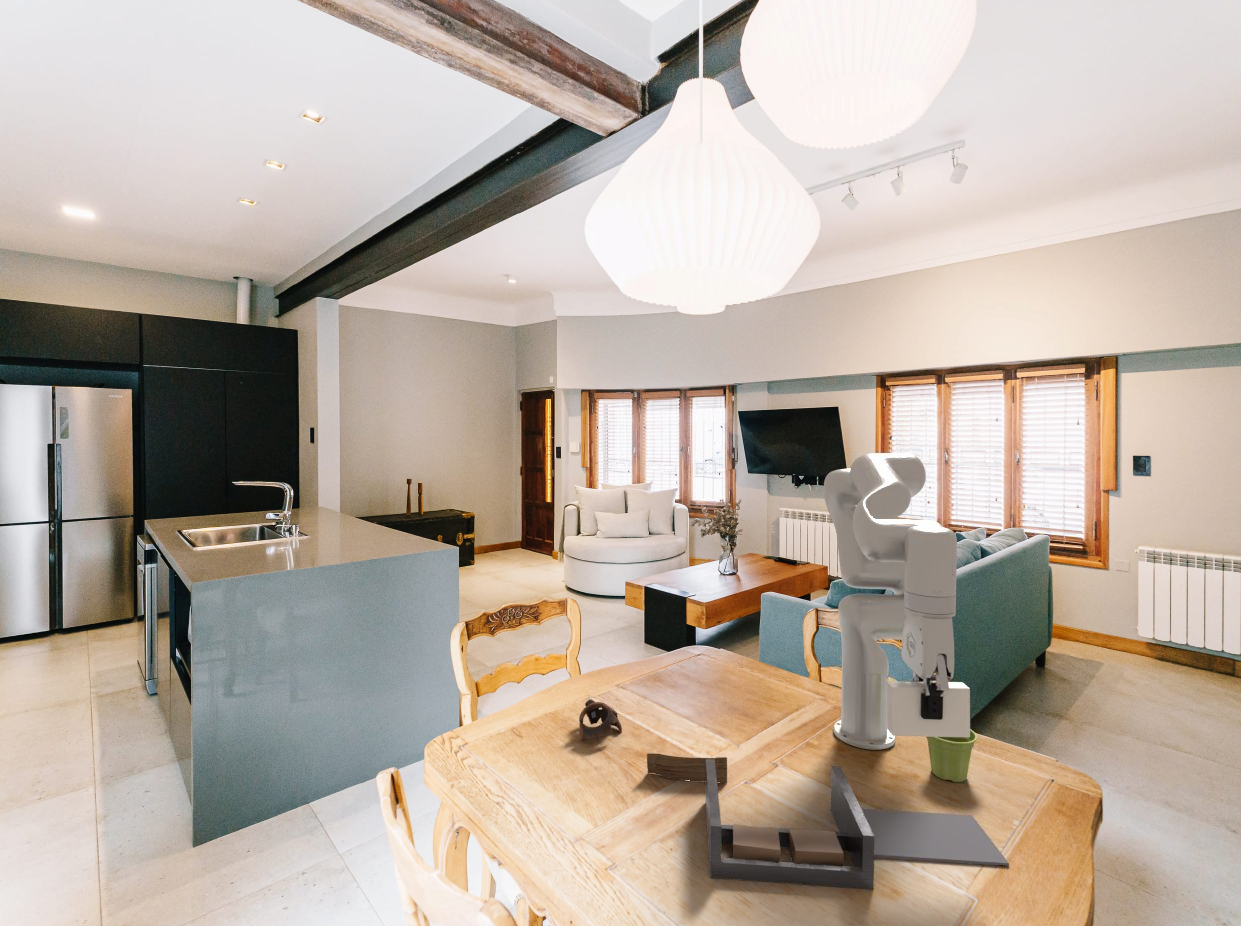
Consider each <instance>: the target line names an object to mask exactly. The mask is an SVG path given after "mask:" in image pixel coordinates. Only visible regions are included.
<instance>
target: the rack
mask: <svg viewBox="0 0 1241 926" xmlns="http://www.w3.org/2000/svg"><path fill="white" fill-rule="evenodd" d="M718 789H719V788H718V783H717V777H716V768H715V759H706V782H705V813H706V817H705V818H706V827H707V829H706V830H707V831H706V832H707V844H708V858H709V861H708V862H709V876H710V877H709V878H711V879H721V880H722V879H723V880H736V881H749V882H750V881H751V882H762V883H763V882H765V883H776V884H778V883H779V884H789V885H790V884H794V885H806V886H807V885H808V886H819V887H820V886H822V887H833V888H848V889H861V890H862V889H865V890H875V889H874V888H875V887H874V884H875V883H874V882H875V881H874V879H875V877H874V876H875V875H874V874H875V858H874V834H873V832H872V830H871V828H870V826H869V824H868V822H867V820H866V818H865V816H864V814H863V812H862V809H863V808H861V806H860V804H859V801H858V798H857V797H856V795H855V793H854V791H853V789H852V787H851V785H850V782H849V781H848V778H847V776H846V775H845V773H844V770H843V768H842V766H841V765H830V812H831V814H832V816H833V819H834V822H835V824H836V827H837V829H838V831H834V832H835V834H836V836H837V838H838V841H839V843H840V846H841V848H842V851H843V852H847V854H848V857H849V860H850V861H851V864H852V866H847V865H846V866H845V865H843V866H834V865H820V864H805V863H792V862H788V861H780V862H775V861H761V860H746V859H733V858H730V857H729V858H727V857H722V844H724V845H725V844H727V845H733V824H722V819H721V809H720V800H719V799H720V798H719V790H718ZM765 828H770V827H768V826H767V827H766V826H765ZM772 828H773V829H778V833H779V842H780V848H788V849H789V829H790V828H783V827H782V828H781V827H772ZM794 829H795V830H802V829H800V828H794ZM813 830H814V829H813ZM814 831H819V830H816V829H815V830H814Z"/></svg>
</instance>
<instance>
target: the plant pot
mask: <svg viewBox="0 0 1241 926" xmlns="http://www.w3.org/2000/svg"><path fill="white" fill-rule="evenodd" d="M925 738H926V739H927V745H928V754H929V761H930V769H931V772H932V774H933V775H935V777H938V778H939V779H941V780H944V781H946V780H947V781H952V782H953V783H962V782H965V781H966V780H967V779H968V773H969V767H970V762H971V756H972V752H973V751H972V749H973V748H974V745H975V742H977V739H978V735H977V733H976V732H975V731H974V730H972V729H971V728H970V737H925Z"/></svg>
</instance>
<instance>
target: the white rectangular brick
mask: <svg viewBox="0 0 1241 926" xmlns="http://www.w3.org/2000/svg"><path fill="white" fill-rule="evenodd" d="M935 682H936V681H933V682H930V684H931V683H935ZM948 685H949V690H946V691H944V697H943V718H942V719H941V720H933V719H923V718H922V717H921V693H924V691H923V682H913V681H894V680H892V681H891V680H890V681H889V680H888V681H887V729H888V730H889V731H890V733H891V734H892V735H893V736H895V737H925V738H926V737H970V729H971V690H970V687H969V686H968V685H966V684H965V683H964V682H963V681H962V682H961V681H959V682H958V681H948Z"/></svg>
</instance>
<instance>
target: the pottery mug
mask: <svg viewBox="0 0 1241 926" xmlns="http://www.w3.org/2000/svg"><path fill="white" fill-rule="evenodd" d="M584 705H585V707H584V708H583V709H582V710H581V712H580V715H579V717H578V718H579V720H578V722H579V732H578V734H579V737H580V739H581V741H584V740H598V739H599V738H602V737H604V736H605V735H608V734H614V731H613V728H612V726H613V727H616V728H617V729H618V731H619V733H622V732H623V730H622V729H623V728H622V724H621V722H620V720H619V718H618V712H617V711H616V709H615V708H613V707H611V706H609V705H608V704H606V703H605V702H602V701H595V700H593V699H591V698H590V699H588V700H586V701H585V703H584ZM585 717H587V718H588V722H589V723H590V725H592V726H587V725H586V724H585V723H584V718H585ZM599 720H600V721H601V723H600V724H599V725H596V726H593V725H595V724H598V722H599Z"/></svg>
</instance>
